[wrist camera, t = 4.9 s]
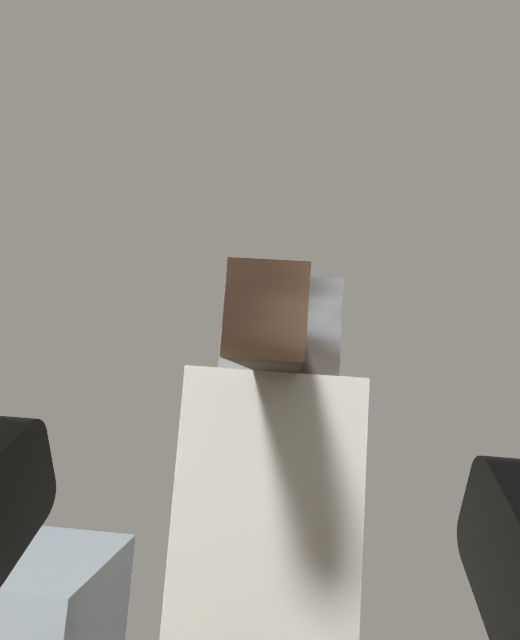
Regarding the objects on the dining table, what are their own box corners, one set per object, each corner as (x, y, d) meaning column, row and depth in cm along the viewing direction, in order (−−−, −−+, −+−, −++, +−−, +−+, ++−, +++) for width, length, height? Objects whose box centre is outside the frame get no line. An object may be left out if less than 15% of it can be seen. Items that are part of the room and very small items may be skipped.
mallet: (329, 379, 29) (333, 299, 30) (392, 368, 11) (400, 161, 11) (233, 372, 29) (239, 294, 30) (136, 351, 11) (157, 153, 12)
